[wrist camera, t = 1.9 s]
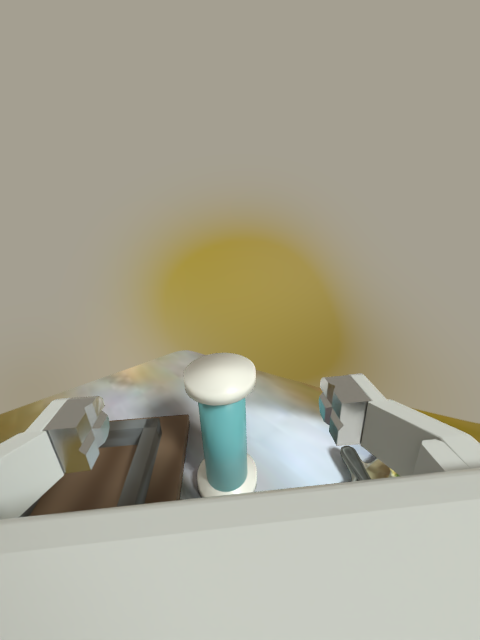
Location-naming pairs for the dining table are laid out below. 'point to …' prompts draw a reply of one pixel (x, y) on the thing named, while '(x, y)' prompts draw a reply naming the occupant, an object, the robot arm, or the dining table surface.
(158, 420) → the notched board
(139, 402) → the dining table surface
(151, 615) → the robot arm
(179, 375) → the dining table surface
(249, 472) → the bobbin
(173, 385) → the dining table surface
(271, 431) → the dining table surface
